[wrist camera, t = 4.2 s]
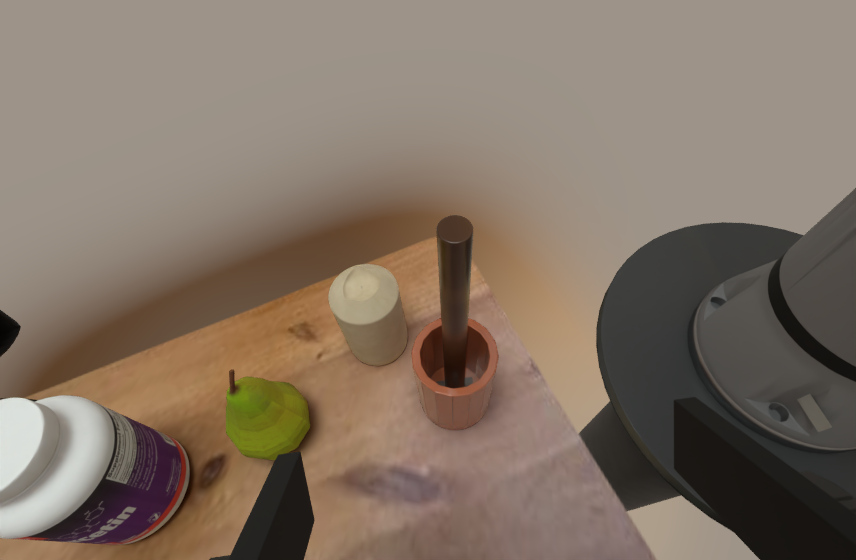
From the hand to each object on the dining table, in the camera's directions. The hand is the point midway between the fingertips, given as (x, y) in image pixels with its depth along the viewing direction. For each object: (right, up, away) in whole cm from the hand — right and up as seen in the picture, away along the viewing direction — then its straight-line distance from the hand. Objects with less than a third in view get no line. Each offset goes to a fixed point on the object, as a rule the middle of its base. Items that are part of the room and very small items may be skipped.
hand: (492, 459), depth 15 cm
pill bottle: (-25, -11, +20) cm, 34 cm away
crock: (0, -4, +23) cm, 23 cm away
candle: (-7, +1, +26) cm, 27 cm away
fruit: (-15, -6, +22) cm, 28 cm away
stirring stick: (0, -3, +22) cm, 23 cm away
